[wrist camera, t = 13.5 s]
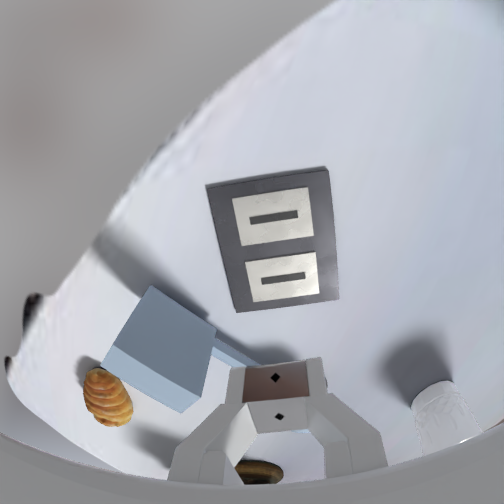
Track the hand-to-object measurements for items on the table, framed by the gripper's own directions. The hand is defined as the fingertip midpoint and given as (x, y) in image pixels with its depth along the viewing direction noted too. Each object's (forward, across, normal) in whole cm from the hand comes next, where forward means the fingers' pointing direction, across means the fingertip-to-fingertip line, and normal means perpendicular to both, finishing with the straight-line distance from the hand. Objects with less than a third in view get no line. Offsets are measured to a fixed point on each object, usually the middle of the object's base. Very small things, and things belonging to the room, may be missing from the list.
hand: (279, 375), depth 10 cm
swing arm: (+14, +5, +12) cm, 19 cm away
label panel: (+15, 0, +2) cm, 15 cm away
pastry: (+16, +24, +19) cm, 34 cm away
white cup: (+15, -18, +26) cm, 35 cm away
